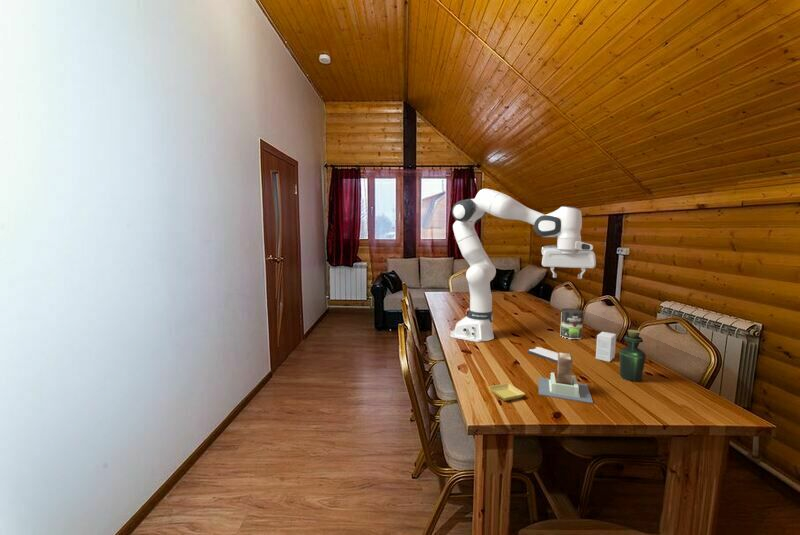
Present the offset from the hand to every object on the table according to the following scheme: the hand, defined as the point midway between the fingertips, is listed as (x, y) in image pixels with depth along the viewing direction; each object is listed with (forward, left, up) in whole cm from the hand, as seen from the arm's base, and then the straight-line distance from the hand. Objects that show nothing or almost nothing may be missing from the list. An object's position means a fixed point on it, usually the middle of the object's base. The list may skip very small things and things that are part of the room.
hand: (567, 278), depth 141 cm
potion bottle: (+22, -12, -35) cm, 43 cm away
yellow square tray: (-20, -43, -36) cm, 59 cm away
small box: (+17, +8, -35) cm, 40 cm away
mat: (-2, -32, -35) cm, 48 cm away
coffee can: (+6, +36, -35) cm, 51 cm away
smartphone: (-6, +2, -36) cm, 36 cm away
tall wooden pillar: (-2, -32, -34) cm, 47 cm away
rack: (-2, -32, -35) cm, 47 cm away
